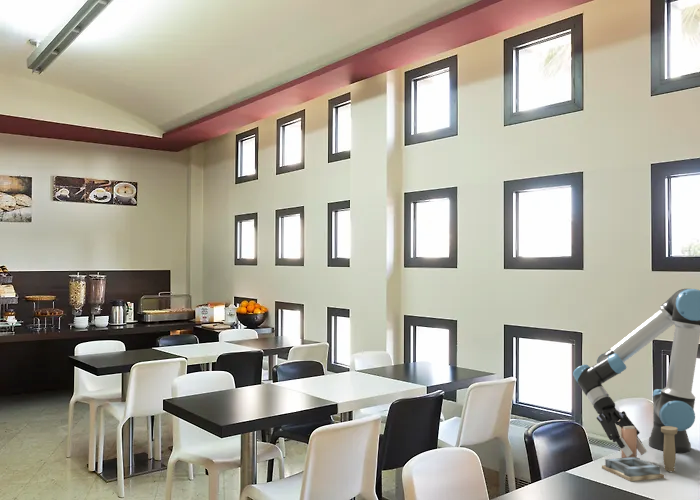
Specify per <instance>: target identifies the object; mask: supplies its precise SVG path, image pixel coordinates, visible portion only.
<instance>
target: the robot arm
mask: <svg viewBox="0 0 700 500" xmlns="http://www.w3.org/2000/svg"><path fill="white" fill-rule="evenodd" d="M672 326H674V332H673V339H672V345H671V346H672V347H671V352H670V360H669V361H670V362H669V367H668V371H667V372H668V374H667V380H666V385H665V387H664V388H663V389H658V388H656V389H654V390H653V393H652V394H653V395H652V400H653V402H652V403H653V404H652V405H653V406H652V407H653V408H652V414H653V417H652V418H653V419H652V420H653V421H652V422H653V423H652V424H653V426H652V428H651V433H650V436H649V438H648V446H649V447H651V448H653V449H656V450H660V451H663V448H664V433H662V432H661V427H663V426H672V427H676V428H677V429H678V431H677V434H675V435H674V439H675V453H687V452H690V451H691V450H692V446H691V442H690V440H689V436H688V432H687V430H689V429H690V428H691V427H692V426H693V425H694V423H695V420H696V413H695V410H694V409H695V403H696V402H695V401H696V400H695V399H696V396H695V395H694V393H693V392H692V391H693V390H692V389H693V383H694V375H695V372H696V371H695V370H696V362H697V356H698V350H699V349H698V348H699V343H700V290H699V289H697V288H681V289H679V290H676V291H675V292H674V293H673V294H672V295H671V296H670V297H669V298H668V299H667V300H665V302H664V303H662V304H661V305H659V309H658V311H656V312H655V313H653V314H652V315H651V316H650V317H649V318H647V319H646V320H645V321H643V322H642V323H641V324H640V325H638V326H637V327H636V328H634V329H633V330H632V331H631V332H630V333H628V334H627V335H626V336H624V337H623V338H622V339H621V340H619V341H618V342H616V343H615V345H613V346H612V347H611V348H609V349H608V350H606V351H605V352H604V353H601V354H600V355H599V356H598V357H597V359H596V363H595V364H594V365H592V366H589V365H588V364H582V365H579V366H578V367H575V369H574V370H573V372H572V376H573V377H574V380H575V381H576V384H578V386H579V387H580V389H581V390H582V392H583V394H584V395H585V397H586V398H587V400H589V403H590V404H591V405H592V406H593V409H594V410H595V412H596V413H597V414H598V415H597V417H596V420H597V421H598V422H599V423H600V425H601V427H602V429H603V432H605V435H606V436H607V438H608V439H609V441H612V442H613V443H616V444H617V445H618V447H619V448H620V449H622V450H623V452H624V453H625V455H626V456H627V457H630V456H631V455H632V454H633V453H632V451H631V450H630V448H629V447H628V445H627V444H626V442H625V441H624V439H623V438H621V436H620V435H621V434H620V433H619V430H618V428H617V426H619V427H620V428H621V427H623V426H635V424H634V423H633V422H632V421H631V420H630V418H629V417H628V416H627V413H626V412H625V411H624V410H622V411H621V412H619V410H618V409H617V408H616V403H615V401H614V400H613V399H612V398H611V396H610V394H609V393H608V391H607V389H605V387H604V386H603V384H604V383H605V382H607V381H609V380H611V379H612V378H614V377H616V376H618V375H619V374H622V372H624V371H626V370H627V365H626V364H625V362H627V361H628V360H629V359H631V358H632V357H634V356H635V355H636V354H637V353H638V352H640V351H641V350H642V349H644V348H645V347H646V346H647V345H649V344H650V343H652V341H654V340H655V339H657V338H658V337H659V336H660V335H661V334H663V333H664V332H666V330H668V329H670V328H671V327H672ZM635 429H637V452H639V454H640V455H641V456H643V455H644V454H646V453H647V452H648V450H647V449H646V447H645V446H644V445H643V442H642V441H641V439H640V438H639V436H638V435H639V434H640V433H641V432H640V430H638V428H637V427H636V426H635Z"/></svg>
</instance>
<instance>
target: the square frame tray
mask: <svg viewBox="0 0 700 500" xmlns="http://www.w3.org/2000/svg"><path fill="white" fill-rule="evenodd" d="M604 464H605V465H601V469H603V470H604V471H607V472H610V473H611V474H613V475H616V476H617V477H620V478H622V479H624V480H627V481H629V482H638V481H644V480H645V481H646V480H647V481H648V480H657V479H664V478H665V474H663V473H661V465H660V466H659V465H657V464H652V463H649V462H647V461H645V460H642V459H641V458H639V457H638V456H637V457H629V458H621V457H618V458H616V457H615V458H606V459H605V463H604Z"/></svg>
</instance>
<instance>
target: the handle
mask: <svg viewBox="0 0 700 500" xmlns="http://www.w3.org/2000/svg"><path fill="white" fill-rule="evenodd" d="M677 431H678V429H677V428H676V427H672V426H663V427H661V432H662V433H664V448H663V450H662V451H663V452H662V455H663V456H662V459H663V467H664V470H665V472H669V473H671V472H673V473H674V472H675V470H676V468H675V467H676V457H677V456H676V453H677V452H675V439H674V435H675V434H677Z"/></svg>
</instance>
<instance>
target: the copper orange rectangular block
mask: <svg viewBox="0 0 700 500" xmlns="http://www.w3.org/2000/svg"><path fill="white" fill-rule="evenodd" d="M635 427H636V426H635V425H634V426H623V427H620V428H621V431H620V432H621V434H620V435H621V436H620V438H623V439H624V441H625V442H626V444H627V445H628V447H629V448H630V450H631V451H632V453H633V454H632V455H631V456H630V457H637V458H638V456H637V455H638V450H637V436H638V435H637V430H638V428H637V429H635ZM620 449H621V448H620ZM620 454H621V457H620V458H629V457H627V456H626V455H625V453H624V452H623V450H622V449H621V453H620Z"/></svg>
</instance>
